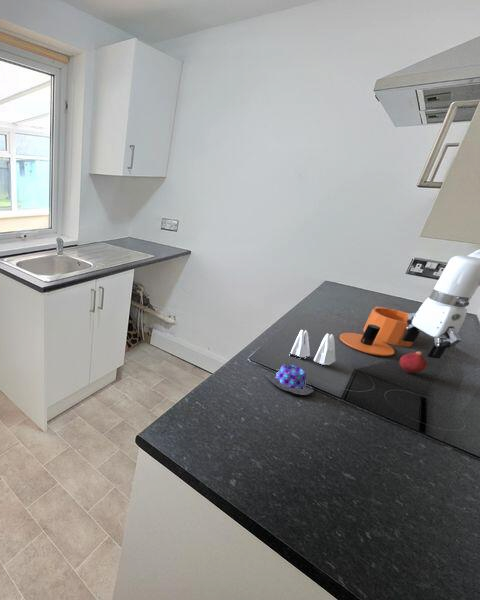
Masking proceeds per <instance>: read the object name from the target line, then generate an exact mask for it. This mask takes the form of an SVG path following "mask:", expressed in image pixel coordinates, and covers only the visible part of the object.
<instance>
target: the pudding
mask: <svg viewBox="0 0 480 600" xmlns="http://www.w3.org/2000/svg"><path fill="white" fill-rule="evenodd" d="M278 370H279V371H278V372H277V373H276V377H275V378H276V379H277V380H278V381H280V383H281V384H283V385H286V386H289V387H290V388H294V389H296V388H298V389H303V387H305V386H306V380H307V374H306V371H305V370H304V369H303V368H301V367H299V366H298V365H293V364H291V363H287V364H283V365H282V366H281V367H280V368H279V369H278Z"/></svg>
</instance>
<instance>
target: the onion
mask: <svg viewBox="0 0 480 600" xmlns="http://www.w3.org/2000/svg"><path fill="white" fill-rule="evenodd" d="M398 364H399V366H400V367H401V369H402V370H403V371H404V372H406V373H407V374H415V373H416V374H417V373H420V372H422V371H425V370H426V368H427V361H426V359H425V357H424V356H423V351H415V352H408V353H406V354H405V353H404V354H403V355H402V356H401V357H400V358H399V362H398Z"/></svg>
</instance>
